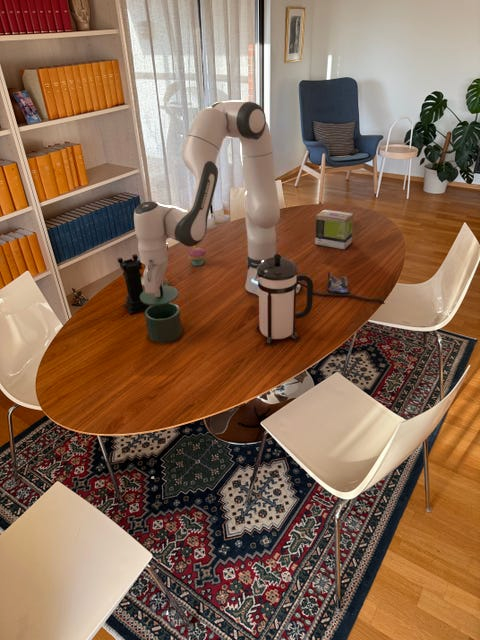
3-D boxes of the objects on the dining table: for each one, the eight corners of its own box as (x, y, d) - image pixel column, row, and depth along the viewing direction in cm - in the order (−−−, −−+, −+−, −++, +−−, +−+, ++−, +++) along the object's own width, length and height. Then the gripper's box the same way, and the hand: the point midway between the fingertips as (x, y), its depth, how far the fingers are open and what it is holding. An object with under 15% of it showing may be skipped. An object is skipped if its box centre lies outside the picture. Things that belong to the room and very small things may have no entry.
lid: (181, 288, 160) (180, 275, 158) (175, 307, 150) (174, 294, 147) (144, 288, 161) (142, 276, 159) (136, 307, 150) (134, 294, 148)
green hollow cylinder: (184, 325, 168) (181, 302, 163) (179, 343, 158) (176, 320, 153) (152, 325, 169) (148, 302, 163) (145, 344, 159) (141, 320, 154)
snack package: (357, 286, 187) (331, 278, 193) (358, 273, 183) (331, 265, 189) (344, 303, 181) (317, 294, 186) (345, 290, 176) (317, 281, 182)
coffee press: (289, 352, 151) (291, 269, 135) (247, 339, 159) (244, 258, 143) (311, 326, 164) (316, 247, 148) (271, 315, 171) (271, 238, 155)
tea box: (351, 242, 224) (354, 212, 216) (344, 250, 217) (346, 219, 209) (322, 237, 231) (324, 208, 223) (314, 244, 224) (315, 214, 216)
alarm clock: (152, 271, 199) (173, 276, 189) (154, 282, 201) (175, 287, 191) (130, 281, 192) (150, 286, 182) (133, 292, 194) (153, 297, 184)
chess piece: (131, 314, 176) (121, 266, 165) (125, 305, 182) (115, 258, 171) (151, 308, 179) (143, 261, 168) (144, 299, 185) (137, 253, 174)
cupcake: (185, 266, 209) (182, 241, 203) (194, 258, 216) (191, 234, 209) (202, 268, 206) (200, 243, 200) (210, 260, 213) (208, 236, 207)
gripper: (157, 268, 138) (163, 308, 146) (168, 241, 155) (173, 278, 163) (136, 269, 139) (143, 309, 146) (150, 242, 156) (155, 279, 163)
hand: (159, 292), depth 155 cm, fingers closed on lid, 2 cm apart
